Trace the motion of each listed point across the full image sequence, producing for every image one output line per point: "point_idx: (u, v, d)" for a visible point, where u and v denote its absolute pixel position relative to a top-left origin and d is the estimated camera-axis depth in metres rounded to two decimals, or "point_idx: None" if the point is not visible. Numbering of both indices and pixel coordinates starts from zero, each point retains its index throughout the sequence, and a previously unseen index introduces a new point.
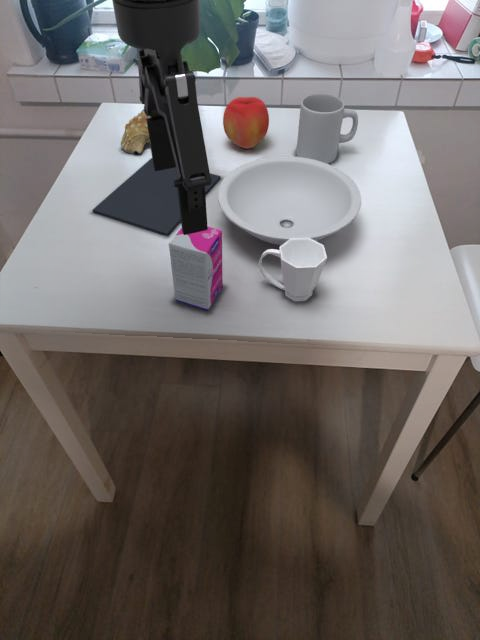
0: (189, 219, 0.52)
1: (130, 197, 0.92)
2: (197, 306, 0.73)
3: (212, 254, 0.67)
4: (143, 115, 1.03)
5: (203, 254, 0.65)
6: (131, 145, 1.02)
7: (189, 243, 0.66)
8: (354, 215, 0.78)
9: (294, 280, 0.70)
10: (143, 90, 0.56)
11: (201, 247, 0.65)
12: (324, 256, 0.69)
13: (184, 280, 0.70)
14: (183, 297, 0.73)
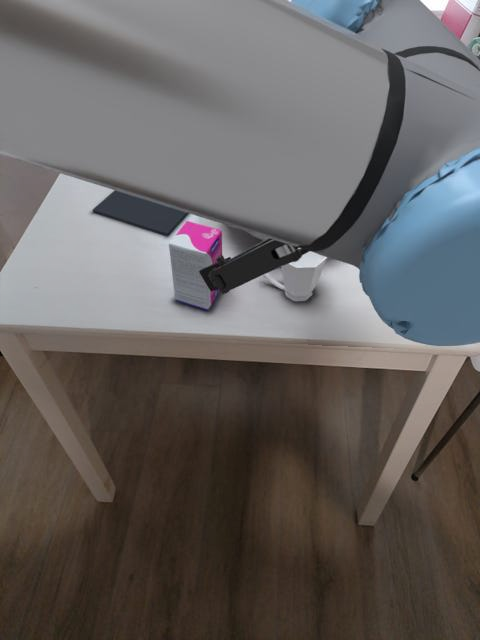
0: (209, 274, 0.54)
1: (130, 197, 0.92)
2: (197, 306, 0.73)
3: (212, 254, 0.67)
4: None
5: (203, 254, 0.65)
6: None
7: (189, 243, 0.66)
8: None
9: (294, 280, 0.70)
10: None
11: (201, 247, 0.65)
12: (324, 256, 0.69)
13: (184, 280, 0.70)
14: (183, 297, 0.73)
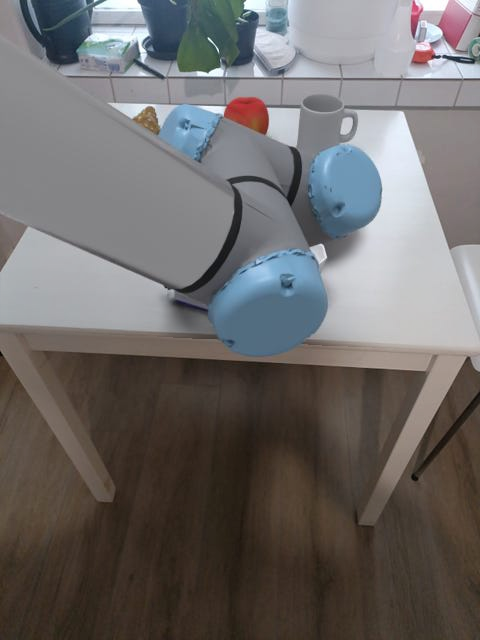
0: None
1: None
2: (197, 306, 0.73)
3: None
4: (143, 115, 1.03)
5: None
6: None
7: None
8: None
9: None
10: None
11: None
12: (324, 256, 0.69)
13: None
14: (183, 297, 0.73)
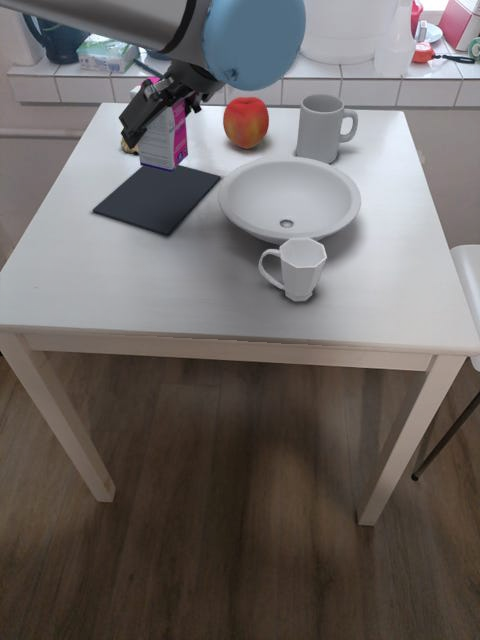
0: (126, 132, 0.72)
1: (130, 197, 0.92)
2: (161, 167, 0.74)
3: None
4: None
5: None
6: None
7: None
8: (354, 215, 0.78)
9: (294, 280, 0.70)
10: None
11: None
12: (324, 256, 0.69)
13: (147, 135, 0.71)
14: (147, 158, 0.74)
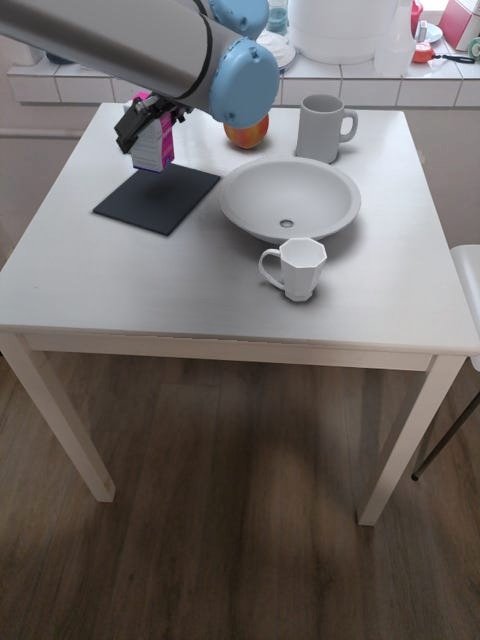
0: (120, 140, 0.84)
1: (130, 197, 0.92)
2: (151, 170, 0.86)
3: None
4: None
5: None
6: None
7: None
8: (354, 215, 0.78)
9: (294, 280, 0.70)
10: None
11: None
12: (324, 256, 0.69)
13: (138, 142, 0.83)
14: (139, 162, 0.86)
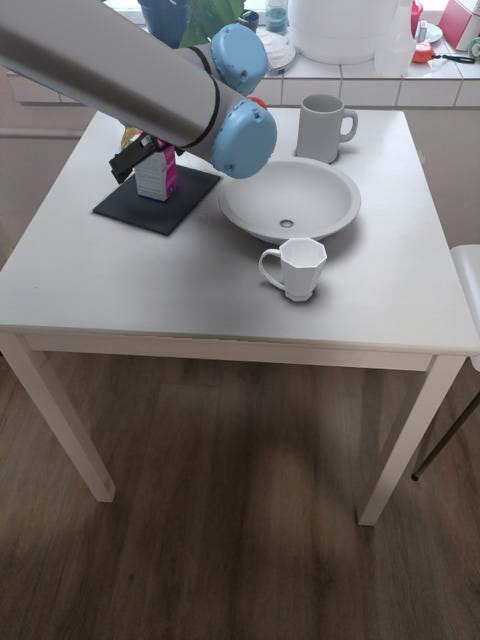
0: None
1: (130, 197, 0.92)
2: (155, 199, 0.90)
3: None
4: None
5: None
6: None
7: None
8: (354, 215, 0.78)
9: (294, 280, 0.70)
10: None
11: None
12: (324, 256, 0.69)
13: (144, 174, 0.87)
14: (144, 191, 0.90)
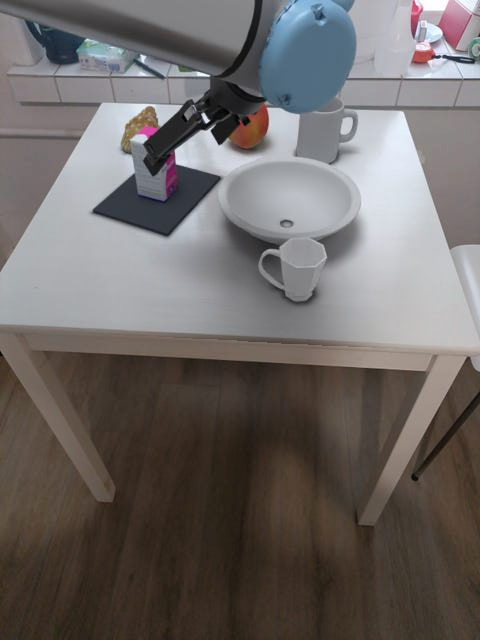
0: (149, 159, 0.71)
1: (130, 197, 0.92)
2: (155, 199, 0.90)
3: None
4: (143, 115, 1.03)
5: None
6: None
7: (145, 140, 0.83)
8: (354, 215, 0.78)
9: (294, 280, 0.70)
10: None
11: None
12: (324, 256, 0.69)
13: (144, 174, 0.87)
14: (144, 191, 0.90)
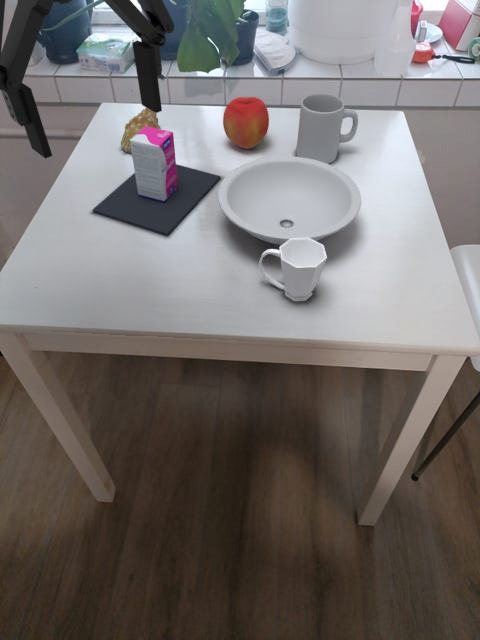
0: (29, 133, 0.47)
1: (130, 197, 0.92)
2: (155, 199, 0.90)
3: (164, 150, 0.84)
4: (143, 115, 1.03)
5: (156, 147, 0.82)
6: None
7: (145, 140, 0.83)
8: (354, 215, 0.78)
9: (294, 280, 0.70)
10: (142, 7, 0.49)
11: (155, 142, 0.83)
12: (324, 256, 0.69)
13: (144, 174, 0.87)
14: (144, 191, 0.90)
